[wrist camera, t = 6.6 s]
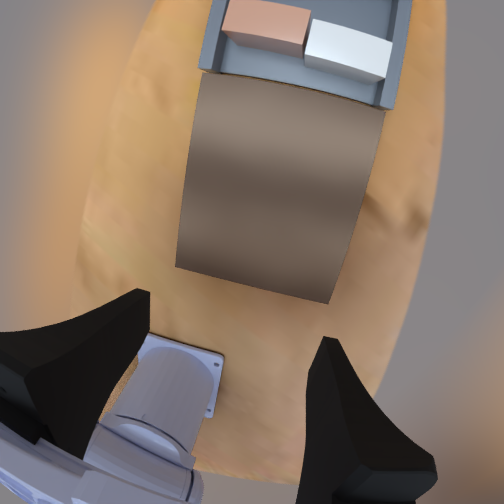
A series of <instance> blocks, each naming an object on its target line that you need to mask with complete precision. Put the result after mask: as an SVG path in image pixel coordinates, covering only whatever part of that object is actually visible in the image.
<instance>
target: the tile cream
mask: <svg viewBox="0 0 504 504" xmlns="http://www.w3.org/2000/svg"><path fill="white" fill-rule="evenodd" d="M392 45H393V43H392V42H389V41H387V40H384V39H381V38H378V37H375V36H372V35H369V34H366V33H363V32H360V31H357V30H353V29H350V28H347V27H343V26H340V25H336V24H332V23H328V22H325V21H321V20H316V19H313V21H312V25H311V29H310V33H309V38H308V42H307V46H306V50H305V65H304V67H308V68H312V69H316V70H320V71H324V72H327V73H331V74H335V75H338V76H341V77H345V78H348V79H351V80H355V81H358V82H361V83H364V84H367V85H371V84H373V83H375V82H378V81H380V80H382V79H384V78H385V77H386V73H387V68H388V64H389V59H390V54H391V50H392Z"/></svg>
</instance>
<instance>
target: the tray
mask: <svg viewBox="0 0 504 504" xmlns="http://www.w3.org/2000/svg"><path fill="white" fill-rule="evenodd" d="M261 1H268V2H273V3H279V4H284V5H289V6H294V7H299V8H303V9H308V10H311V23H310V29H311V25H312V21H313V19H316V20H321V21H325V22H328V23H332V24H336V25H340V26H343V27H347V28H350V29H353V30H357V31H360V32H363V33H366V34H369V35H372V36H375V37H378V38H381V39H384V40H387V41H389V42H392V43H393V45H392V50H391V54H390V59H389V64H388V68H387V73H386V77H385V78H384V79H382V80H380V81H378V82H375V83H373V84H371V85H367V84H364V83H361V82H358V81H355V80H351V79H348V78H345V77H341V76H338V75H335V74H331V73H327V72H324V71H320V70H316V69H312V68H308V67H304V65H305V52H304V56H303V59H301V58H296V57H292V56H288V55H284V54H279V53H275V52H270V51H265V50H260V49H254V48H249V47H243V46H237V45H236V44H235V43H234V42H233V41H232V40H231V39H230V38H229V37H228V36H227V35H226V34H225V33H224V32H223V31H222V26H223V23H224V19H225V16H226V12H227V9H228V5H229V2H230V0H213V2H212V6H211V10H210V14H209V18H208V23H207V27H206V31H205V36H204V40H203V45H202V50H201V54H200V59H199V64H198V68H199V69H202V70H204V71H207V72H209V73H215V74H222V73H227V74H234V75H241V76H248V77H254V78H260V79H266V80H271V81H276V82H282V83H287V84H291V85H296V86H301V87H305V88H310V89H314V90H318V91H322V92H326V93H330V94H334V95H338V96H341V97H345V98H348V99H352V100H355V101H359V102H362V103H366V104H369V105H371V107H373V108H377V109H380V110H393V108H394V104H395V99H396V94H397V89H398V85H399V80H400V75H401V69H402V64H403V58H404V53H405V47H406V41H407V35H408V28H409V21H410V14H411V7H412V0H261ZM308 38H309V37H308ZM307 42H308V40H307ZM306 46H307V44H306ZM305 50H306V48H305Z"/></svg>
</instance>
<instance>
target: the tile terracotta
mask: <svg viewBox="0 0 504 504" xmlns="http://www.w3.org/2000/svg"><path fill="white" fill-rule="evenodd" d="M310 23H311V10H308V9H303V8H299V7H294V6H289V5H284V4H279V3H273V2H268V1H261V0H230V2H229V5H228V9H227V12H226V16H225V19H224V23H223V26H222V31H223V32H224V33H225V34H226V35H227V36H228V37H229V38H230V39H231V40H232V41H233V42H234V43H235V44H236V45H237V46H243V47H249V48H254V49H260V50H265V51H270V52H275V53H279V54H284V55H288V56H292V57H296V58H301V59H303V56H304V52H305V48H306V44H307V40H308V37H309V33H310Z"/></svg>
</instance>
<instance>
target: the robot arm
mask: <svg viewBox="0 0 504 504" xmlns="http://www.w3.org/2000/svg"><path fill="white" fill-rule="evenodd" d="M149 330H150V292H148V291H145V290H142V289H139V288H136V289H134V290H132V291H130V292H128V293H126V294H124V295H122V296H120V297H118V298H117V299H115V300H113V301H111V302H109V303H107V304H105V305H103V306H101V307H98V308H96V309H94V310H92V311H89V312H87V313H85V314H83V315H80V316H78V317H75V318H73V319H70V320H67V321H64V322H61V323H57V324H53V325H49V326H45V327H41V328H36V329H31V330H23V331H15V332H0V483H2V484H3V485H4V486H5V487H7V488H8V489H9V490H11V491H12V492H13V493H15V494H16V495H17V496H19V497H20V498H21V499H23V500H24V501H25V502H27V503H28V504H200V503H201V500H202V496H203V491H204V484H203V480H202V478H201V474H200V472H199V471H197V470H194V469H193V466H194V463H195V460H196V458H195V457H194V456H192V455H191V452H192V449H193V446H194V443H195V441H196V438H197V435H198V432H199V429H200V426H201V423H202V420H203V417H206V418H212V417H213V414H214V408H215V403H216V398H217V393H218V388H219V383H220V377H221V372H222V367H223V362H224V357H223V356H222V355H220V354H217V353H213V352H209V351H206V350H202V349H199V348H195V347H192V346H188V345H185V344H182V343H178V342H175V341H172V340H168V339H165V338H162V337H159V336H156V335H153V334H150V333H148V332H149ZM137 353H138V363H139V364H138V366H137V368H136V369H135V371H134V372H133V374H132V376H131V377H130V379H129V381H128V382H127V384H126V385H125V387H124V389H123V390H122V392H121V394H120V395H119V397H118V399H117V400H116V402H115V404H114V405H113V407H112V409H111V410H110V412H106V413H105V415H104V416H103V418H102V420H101V421H100V423H99V420H98V419H99V417H100V415H101V413H102V411H103V408H104V406H105V404H106V402H107V400H108V398H109V396H110V394H111V392H112V391H113V389H114V387H115V386H116V384H117V383H118V381H119V380H120V378H121V377H122V375H123V374H124V372H125V371H126V369H127V368H128V366H129V365H130V363H131V362H132V361H133V359H134V358H135V356H136V355H137ZM217 363H219V364H217ZM437 480H438V477H437V471H436V465H435V462H434V458H433V456H432V455H431V454H429V453H428V452H427V451H425V450H424V449H422V448H421V447H420V446H418V445H417V444H415V443H414V442H413V441H412V440H411V439H410V438H408V437H407V436H406V435H405V434H404V433H403V432H401V431H400V430H399V429H398V428H397V427H396V426H395V425H394V424H393V423H392V421H390V419H389V418H388V417H387V416H386V415H385V414H384V413H383V412H382V410H381V409H380V408H379V407H378V405H377V404H376V403H375V402H374V400H373V399H372V398H371V396H370V395H369V393H368V392H367V390H366V389H365V387H364V386H363V384H362V383H361V381H360V379H359V378H358V376H357V374H356V372H355V371H354V369H353V367H352V365H351V363H350V361H349V359H348V358H347V356H346V354H345V352H344V350H343V348H342V346H341V344H340V342H339V340H338V339H335V338H330V337H325V336H323V339H322V341H321V343H320V346H319V348H318V351H317V353H316V355H315V358H314V360H313V362H312V365H311V367H310V369H309V372H308V380H307V388H306V443H305V452H304V460H303V466H302V472H301V478H300V484H299V489H298V494H297V499H296V504H416V502H415V500H416V499H417V498H419V497H420V496H421V495H423V494H424V493H426V492H427V491H428V490H429V489H431V488H432V487H433V486H434V484H435V483H436V481H437Z"/></svg>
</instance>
